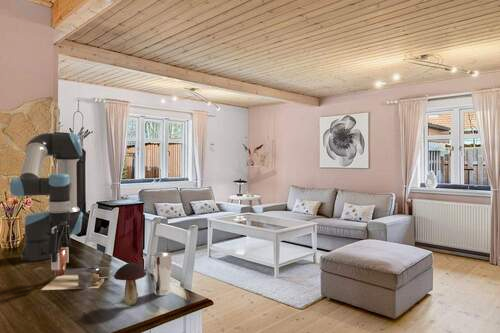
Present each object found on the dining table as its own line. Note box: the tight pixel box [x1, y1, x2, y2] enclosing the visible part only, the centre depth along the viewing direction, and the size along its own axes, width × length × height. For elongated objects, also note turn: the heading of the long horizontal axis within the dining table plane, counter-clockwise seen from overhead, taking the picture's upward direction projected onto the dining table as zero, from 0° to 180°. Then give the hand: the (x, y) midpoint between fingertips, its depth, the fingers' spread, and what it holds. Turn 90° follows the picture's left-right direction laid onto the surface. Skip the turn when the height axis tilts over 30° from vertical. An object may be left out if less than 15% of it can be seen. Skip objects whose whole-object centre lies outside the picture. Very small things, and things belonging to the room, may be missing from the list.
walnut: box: [92, 273, 99, 283], centre depth 139 cm, size 4×4×4 cm
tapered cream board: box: [40, 269, 113, 291], centre depth 143 cm, size 21×21×6 cm
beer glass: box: [152, 251, 173, 297], centre depth 133 cm, size 7×7×15 cm
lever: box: [54, 248, 111, 278], centre depth 143 cm, size 5×22×11 cm, turn 97°
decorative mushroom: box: [113, 262, 148, 306], centre depth 122 cm, size 11×11×15 cm
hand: (60, 265), depth 142 cm, fingers open, 9 cm apart
